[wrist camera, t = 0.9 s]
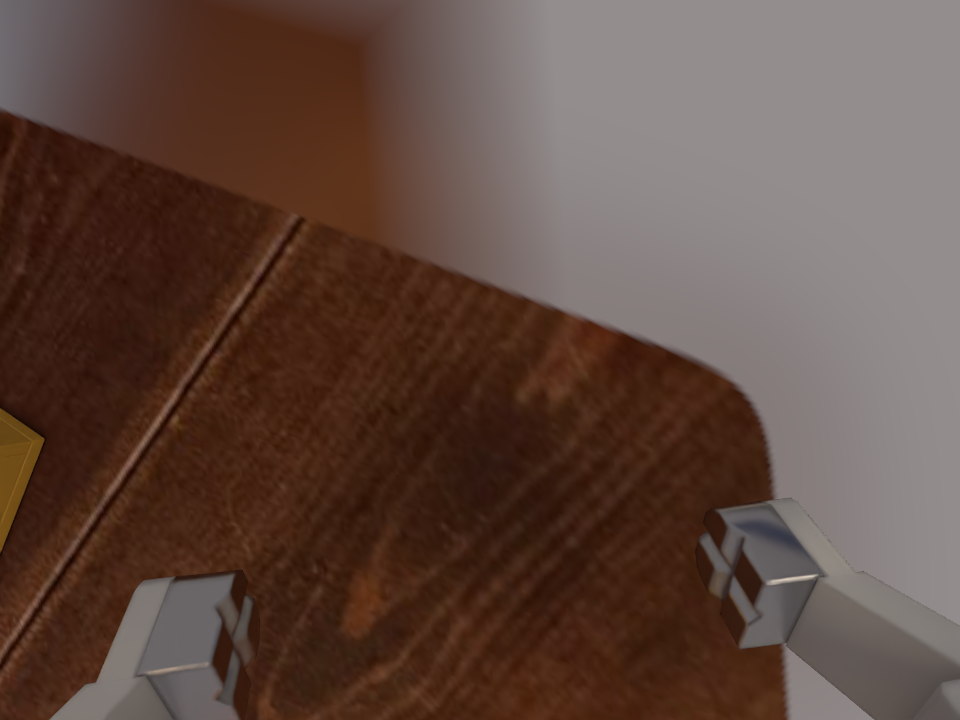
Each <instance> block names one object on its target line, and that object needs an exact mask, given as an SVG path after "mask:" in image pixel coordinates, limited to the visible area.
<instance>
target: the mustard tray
mask: <svg viewBox="0 0 960 720" xmlns="http://www.w3.org/2000/svg"><path fill="white" fill-rule="evenodd" d="M44 440H45V439H44V438H43V437H41V436H40V435H39V434H37V433H36V432H34V431H33V430H31V429H30V428H28V427H27V426H26V425H24V424H23V423H21V422H20V421H18V420H17V419H15V418H14V417H13V416H11V415H10V414H8V413H7V412H5V411H4V410H2V409H1V408H0V553H1V550H2V548H3V545H4V543H5V540H6V538H7V535H8V533H9V530H10V527H11V525H12V522H13V520H14V517H15V515H16V512H17V509H18V507H19V504H20V502H21V499H22V497H23V494H24V491H25V489H26V486H27V484H28V481H29V479H30V476H31V474H32V471H33V468H34V466H35V463H36V461H37V458H38V456H39V453H40V450H41V448H42V445H43V443H44Z"/></svg>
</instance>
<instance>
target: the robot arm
mask: <svg viewBox="0 0 960 720" xmlns="http://www.w3.org/2000/svg"><path fill="white" fill-rule="evenodd" d="M703 524H704V525H705V527H706V529H707V530H708V531H707V532H705V533H704V534H703V535H702V536H701V537H700V538H699V539H698V542H697V547H696V551H695V553H696V562H697V568H698V571H699V574H700V576H701V579H702V581H703V583H704V585H705V587H706V589H707V591H708V592H710V593H711V594H713V595H714V596H715V597H717V598H718V599H720V600H721V601H722V605H721V611H720V615H721V616H722V618H723V620H724V622H725V624H726V626H727V627H728V629H729V631H730V633H731V635H732V636H733V638H734V640H735V642H736V644H737V646H738V647H739V649H743V648H751V647H759V646H767V645H775V644H783V643H787V644H786V646H787V647H788V648H789V649H790V650H792V651H793V652H794V653H795V654H796V655H797V656H799V657H800V658H801V659H802V660H803V661H805V662H806V663H807V664H808V665H810V666H811V667H812V668H813V669H814V670H815V671H817V672H818V673H819V674H820V675H822V676H823V677H824V678H825V679H826V680H828V681H829V682H830V683H831V684H832V685H834V686H835V687H836V688H837V689H838V690H840V691H841V692H842V693H843V694H844V695H846V696H847V697H848V698H849V699H850V700H852V701H853V702H854V703H855V704H856V705H858V706H859V707H860V708H861V709H862V710H864V711H865V712H866V713H867V714H868V715H870V716H871V717H872V718H873V719H875V720H960V626H959V625H957V624H956V623H954V622H952V621H951V620H949V619H947V618H945V617H943V616H942V615H940V614H938V613H936V612H935V611H933V610H931V609H929V608H927V607H926V606H924V605H922V604H921V603H919V602H917V601H915V600H913V599H912V598H910V597H908V596H906V595H905V594H903V593H901V592H899V591H897V590H896V589H894V588H892V587H891V586H889V585H887V584H885V583H883V582H882V581H880V580H878V579H876V578H875V577H873V576H871V575H869V574H868V573H866V572H864V571H862V572H855V571H854V570H853V568H852V567H851V566H850V565H849V564H848V563H847V561H846V560H845V559H844V557H843V556H842V555H841V554H840V553H839V552H838V550H837V549H836V548H835V547H834V545H833V544H832V543H831V542H830V540H829V539H828V538H827V537H826V536H825V535H824V533H823V532H822V531H821V530H820V528H819V527H818V526H817V525H816V523H815V522H814V521H813V520H812V519H811V517H810V516H809V515H808V514H807V513H806V512H805V510H804V509H803V508H802V507H801V505H800V504H799V503H798V502H797V501H795V500H793V499H792V498H785V499H777V500H770V501H763V502H761V501H757V502H750V503H743V504H736V505H729V506H723V507H716V508H711V509H709V510H708V511H707V512H706V514H705V517H704V521H703ZM247 585H248V581H247V578H246V576H245V574H244V572H243V570H235V571H225V572H215V573H205V574H196V575H186V576H176V577H168V578H160V579H151V580H143V582H142V583H141V584H140V585H139V586H138V587H137V589H136V590H135V591H134V594H133V596H132V598H131V601H130V603H129V605H128V608H127V610H126V613H125V615H124V617H123V620H122V622H121V624H120V627H119V629H118V632H117V634H116V636H115V639H114V641H113V643H112V646H111V648H110V651H109V653H108V655H107V658H106V660H105V662H104V665H103V667H102V670H101V672H100V674H99V677H98V679H97V681H96V683H91V684H85V685H84V686H83V687H82V688H81V689H80V690H79V691H78V692H77V693H76V694H75V695H74V696H73V697H72V698H71V699H70V700H69V701H68V702H67V703H66V704H65V705H64V706H63V707H62V708H61V709H60V710H59V711H58V712H57V713H56V714H55V715H54V716H53V717H51V718H50V719H49V720H244V718H245V713H246V707H247V702H248V697H249V692H250V687H251V682H250V680H249V678H248V676H247V673H246V671H245V670H246V668H247V667H248V666H249V665H250V664H251V662H252V661H253V660H254V659H255V658H256V656H257V650H258V645H259V638H260V617H259V611H258V607H257V604H256V601H255V599H254V598H252V597H251V596H249V595H247V594H246V590H247Z"/></svg>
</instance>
